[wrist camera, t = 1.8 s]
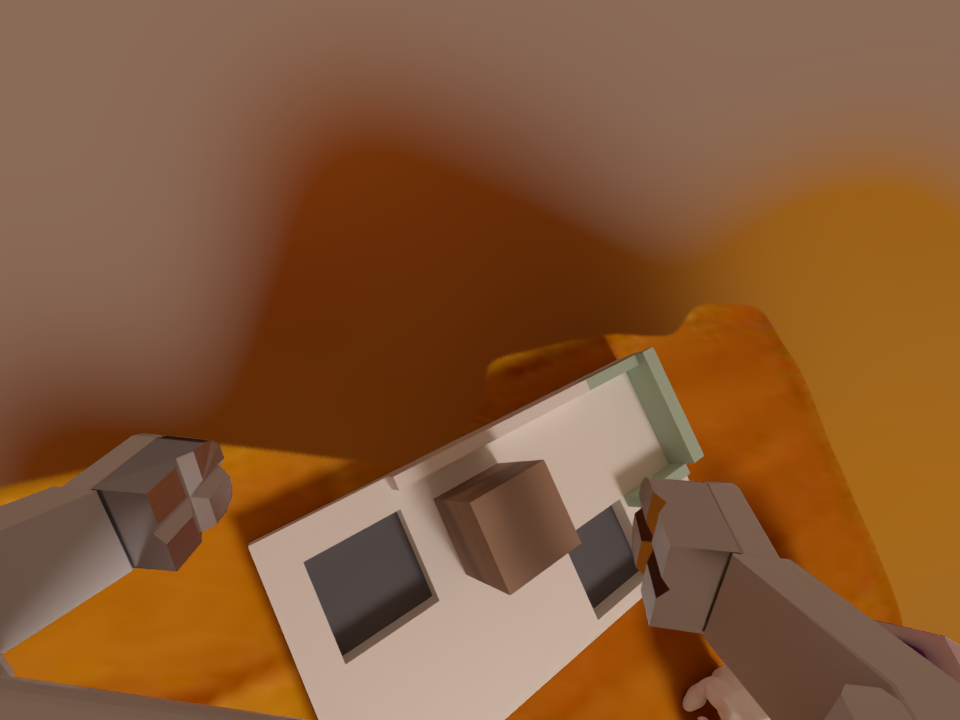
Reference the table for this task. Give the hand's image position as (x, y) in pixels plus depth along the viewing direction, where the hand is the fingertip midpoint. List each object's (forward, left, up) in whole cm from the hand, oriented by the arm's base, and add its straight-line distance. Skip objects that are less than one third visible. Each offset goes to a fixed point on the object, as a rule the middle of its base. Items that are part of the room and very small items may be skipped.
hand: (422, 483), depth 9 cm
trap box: (+13, -11, -27) cm, 32 cm away
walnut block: (+10, -8, -25) cm, 28 cm away
